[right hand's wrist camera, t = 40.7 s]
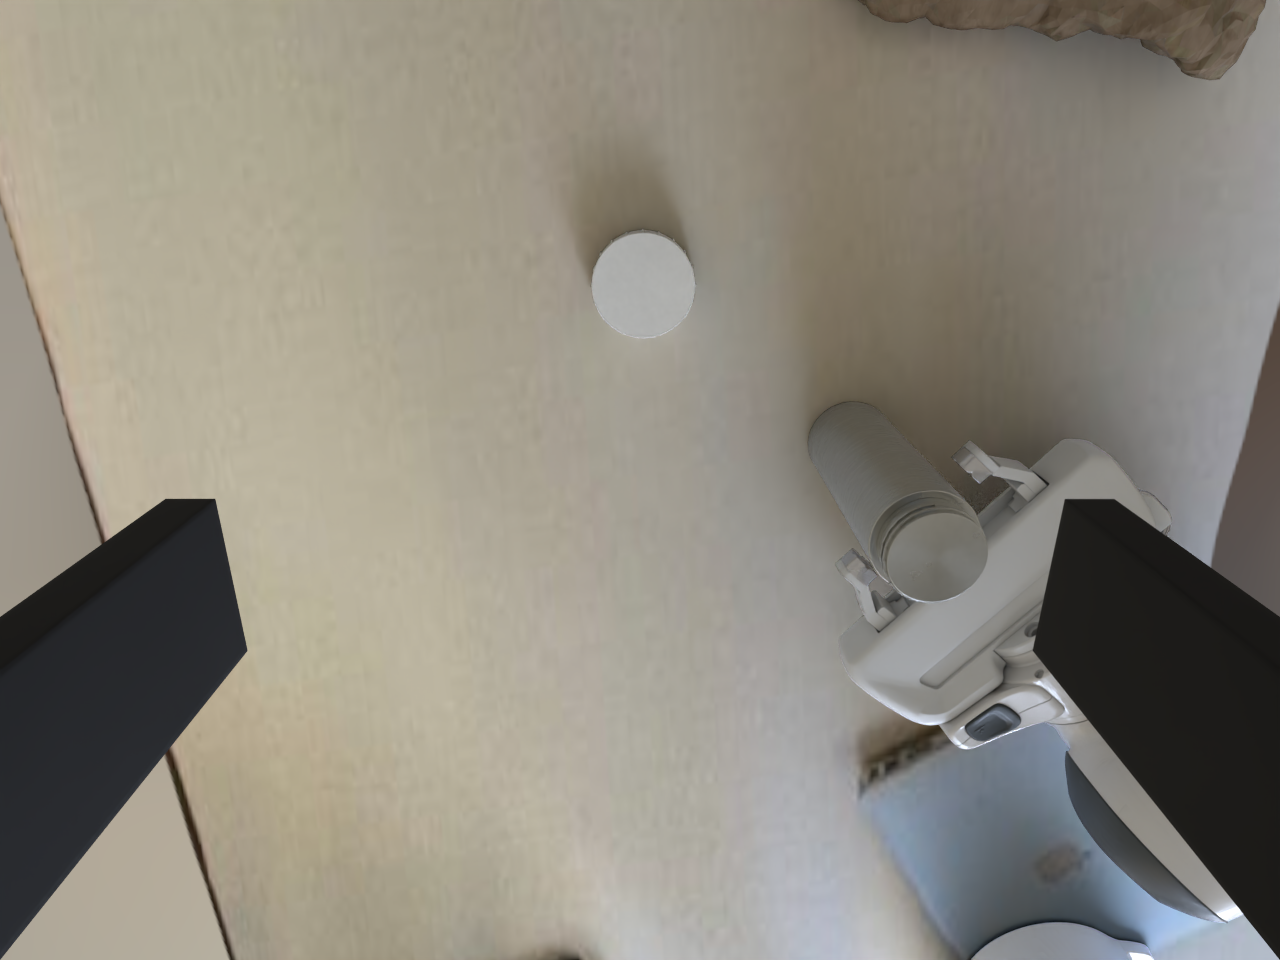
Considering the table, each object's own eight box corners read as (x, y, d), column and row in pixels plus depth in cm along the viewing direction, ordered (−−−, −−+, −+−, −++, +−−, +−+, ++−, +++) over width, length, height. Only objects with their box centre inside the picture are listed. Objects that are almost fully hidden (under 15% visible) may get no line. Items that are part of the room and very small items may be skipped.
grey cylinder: (802, 411, 52) (872, 518, 36) (885, 393, 52) (993, 494, 36) (813, 486, 54) (885, 619, 38) (894, 470, 54) (1000, 597, 38)
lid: (665, 349, 51) (666, 356, 49) (575, 305, 50) (573, 311, 48) (712, 258, 49) (714, 261, 47) (619, 210, 48) (618, 212, 46)
